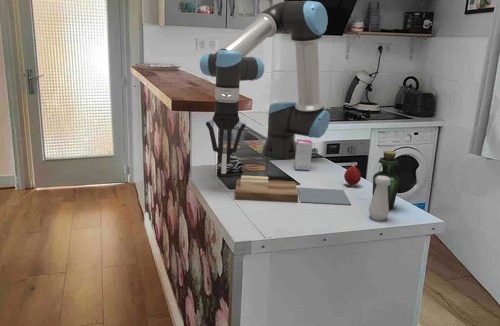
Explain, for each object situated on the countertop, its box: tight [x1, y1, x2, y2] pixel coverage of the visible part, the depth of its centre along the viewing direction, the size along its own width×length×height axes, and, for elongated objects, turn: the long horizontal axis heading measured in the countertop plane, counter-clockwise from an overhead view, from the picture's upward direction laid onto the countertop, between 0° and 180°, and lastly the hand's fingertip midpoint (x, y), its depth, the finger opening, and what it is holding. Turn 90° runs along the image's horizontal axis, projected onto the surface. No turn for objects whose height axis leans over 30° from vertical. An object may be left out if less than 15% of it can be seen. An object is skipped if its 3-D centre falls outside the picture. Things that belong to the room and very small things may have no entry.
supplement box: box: [293, 138, 313, 172], centre depth 184 cm, size 6×6×12 cm
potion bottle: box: [371, 150, 401, 211], centre depth 146 cm, size 8×8×18 cm
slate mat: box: [296, 187, 352, 206], centre depth 155 cm, size 14×16×1 cm
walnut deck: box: [234, 178, 299, 204], centre depth 155 cm, size 14×20×2 cm
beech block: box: [240, 174, 269, 190], centre depth 154 cm, size 6×9×2 cm, turn 89°
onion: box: [343, 164, 362, 187], centre depth 166 cm, size 6×6×8 cm
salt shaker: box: [368, 176, 390, 222], centre depth 137 cm, size 6×6×13 cm
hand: (223, 172), depth 153 cm, fingers closed
